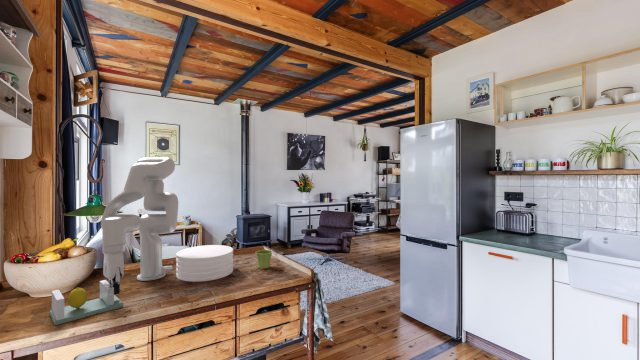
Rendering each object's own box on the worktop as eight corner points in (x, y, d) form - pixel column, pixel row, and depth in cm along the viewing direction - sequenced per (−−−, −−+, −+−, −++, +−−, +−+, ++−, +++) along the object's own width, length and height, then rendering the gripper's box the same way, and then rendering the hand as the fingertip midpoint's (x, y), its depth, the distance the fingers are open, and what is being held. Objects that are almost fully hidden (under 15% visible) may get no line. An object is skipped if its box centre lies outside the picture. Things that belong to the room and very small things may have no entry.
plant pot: (257, 264, 172) (257, 249, 172) (274, 265, 172) (274, 249, 172) (253, 269, 163) (253, 253, 163) (270, 270, 163) (270, 254, 163)
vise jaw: (105, 295, 123) (105, 279, 123) (113, 304, 115) (113, 287, 115) (99, 297, 121) (99, 281, 121) (107, 305, 113) (107, 288, 113)
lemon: (67, 308, 112) (66, 287, 111) (86, 304, 115) (85, 283, 115) (69, 313, 108) (68, 291, 108) (88, 308, 112) (88, 287, 111)
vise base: (114, 298, 125) (114, 277, 125) (122, 306, 117) (122, 284, 117) (50, 314, 110) (49, 291, 110) (54, 325, 102) (54, 300, 102)
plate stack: (222, 282, 145) (222, 258, 145) (165, 281, 145) (165, 258, 145) (239, 264, 173) (239, 245, 173) (191, 264, 173) (191, 244, 173)
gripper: (97, 247, 122) (98, 292, 122) (108, 253, 112) (108, 302, 112) (119, 243, 128) (119, 287, 128) (131, 249, 118) (131, 296, 118)
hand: (114, 294), depth 120 cm, fingers closed
